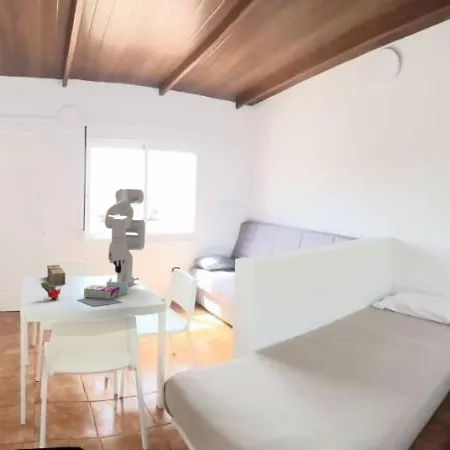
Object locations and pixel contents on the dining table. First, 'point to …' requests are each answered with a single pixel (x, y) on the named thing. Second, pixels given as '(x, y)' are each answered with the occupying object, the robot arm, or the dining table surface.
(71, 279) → the dining table surface
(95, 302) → the mat
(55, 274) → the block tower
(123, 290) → the right angle wall
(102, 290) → the candy bar box
